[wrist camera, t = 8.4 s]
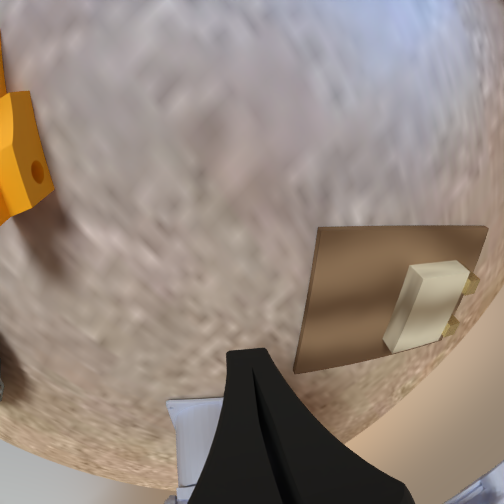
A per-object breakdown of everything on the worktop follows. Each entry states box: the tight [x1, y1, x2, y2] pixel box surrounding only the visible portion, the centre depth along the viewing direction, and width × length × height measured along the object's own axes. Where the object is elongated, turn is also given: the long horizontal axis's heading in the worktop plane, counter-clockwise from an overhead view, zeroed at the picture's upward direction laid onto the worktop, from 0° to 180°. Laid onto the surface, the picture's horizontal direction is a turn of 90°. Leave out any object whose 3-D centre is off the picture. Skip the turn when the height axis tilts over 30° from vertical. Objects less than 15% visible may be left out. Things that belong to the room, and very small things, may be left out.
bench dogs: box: [442, 265, 480, 337], centre depth 23 cm, size 6×2×2 cm, turn 178°
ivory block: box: [383, 260, 470, 354], centre depth 23 cm, size 8×6×2 cm
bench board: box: [293, 226, 489, 374], centre depth 23 cm, size 14×18×1 cm
